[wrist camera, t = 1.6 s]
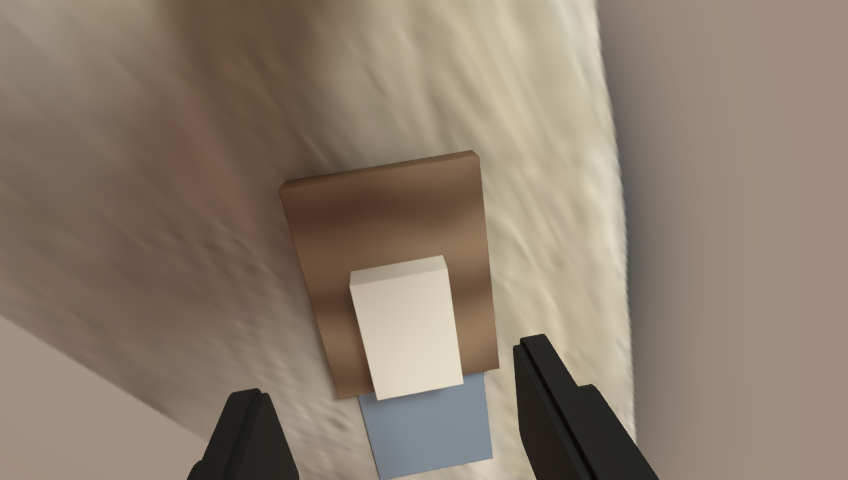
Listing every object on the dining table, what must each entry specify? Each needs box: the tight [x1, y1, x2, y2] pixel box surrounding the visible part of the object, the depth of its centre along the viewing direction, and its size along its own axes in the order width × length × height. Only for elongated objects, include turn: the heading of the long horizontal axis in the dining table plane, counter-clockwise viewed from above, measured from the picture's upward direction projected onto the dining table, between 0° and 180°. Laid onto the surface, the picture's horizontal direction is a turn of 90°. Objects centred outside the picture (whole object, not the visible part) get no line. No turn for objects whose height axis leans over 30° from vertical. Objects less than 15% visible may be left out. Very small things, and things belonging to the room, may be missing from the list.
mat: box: [358, 371, 493, 480], centre depth 36 cm, size 11×10×1 cm
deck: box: [279, 150, 499, 399], centre depth 30 cm, size 16×12×2 cm
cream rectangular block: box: [350, 255, 464, 400], centre depth 29 cm, size 9×6×2 cm, turn 9°
